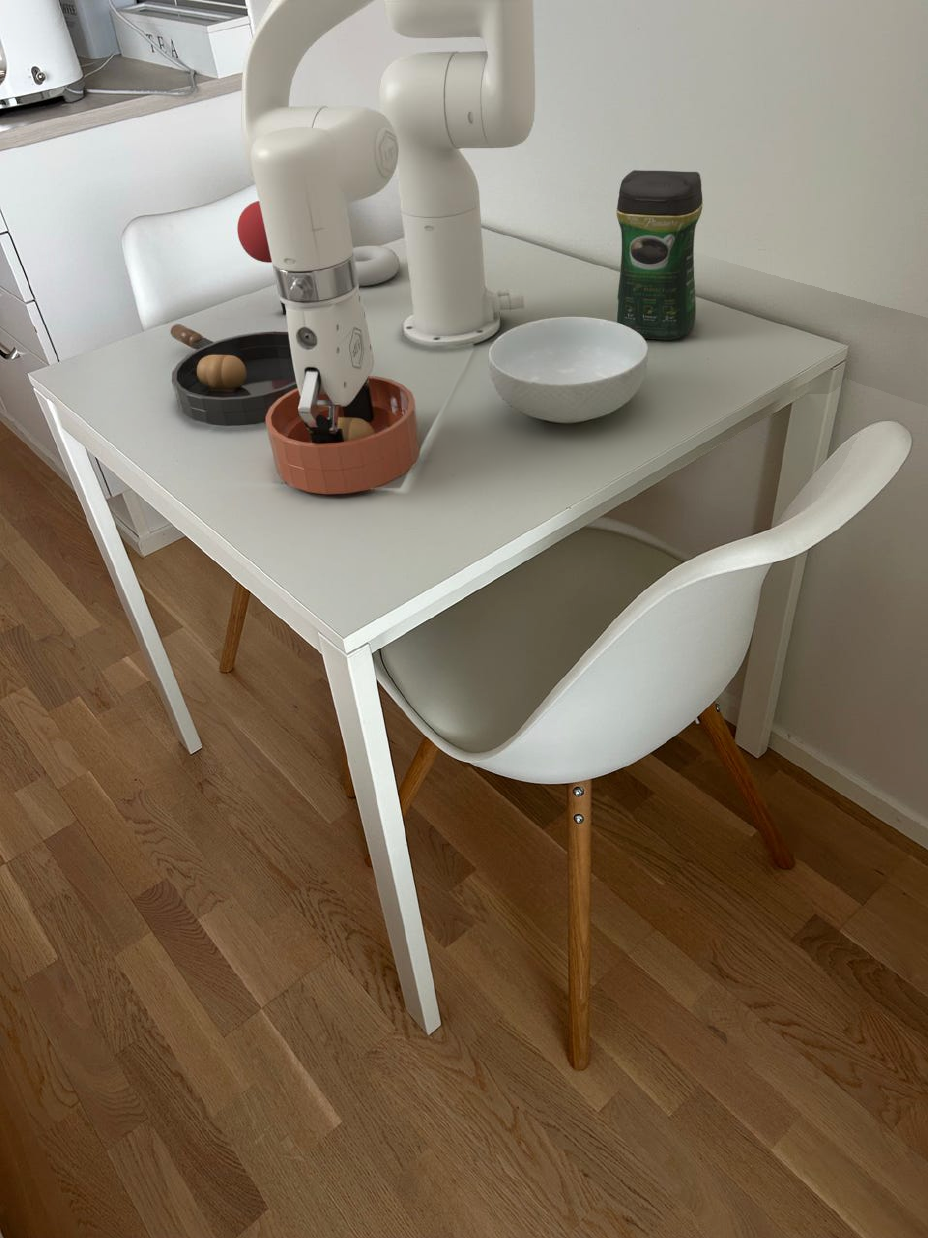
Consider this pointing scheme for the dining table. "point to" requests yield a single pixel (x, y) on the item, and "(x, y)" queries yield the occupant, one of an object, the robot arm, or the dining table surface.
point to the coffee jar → (658, 252)
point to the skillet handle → (189, 337)
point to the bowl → (346, 443)
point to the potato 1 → (221, 372)
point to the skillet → (255, 396)
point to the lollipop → (254, 235)
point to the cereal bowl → (568, 367)
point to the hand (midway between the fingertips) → (346, 441)
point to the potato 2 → (354, 428)
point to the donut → (375, 264)
